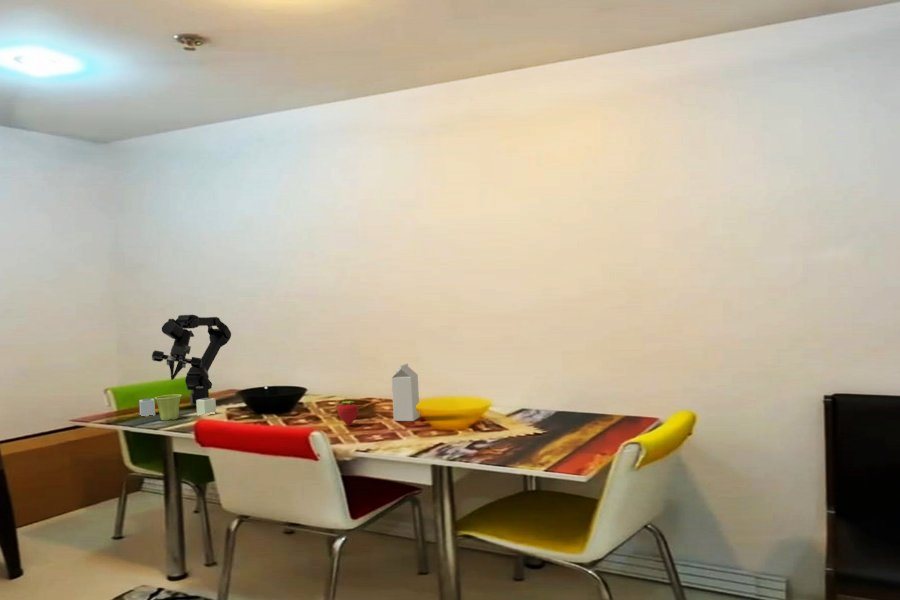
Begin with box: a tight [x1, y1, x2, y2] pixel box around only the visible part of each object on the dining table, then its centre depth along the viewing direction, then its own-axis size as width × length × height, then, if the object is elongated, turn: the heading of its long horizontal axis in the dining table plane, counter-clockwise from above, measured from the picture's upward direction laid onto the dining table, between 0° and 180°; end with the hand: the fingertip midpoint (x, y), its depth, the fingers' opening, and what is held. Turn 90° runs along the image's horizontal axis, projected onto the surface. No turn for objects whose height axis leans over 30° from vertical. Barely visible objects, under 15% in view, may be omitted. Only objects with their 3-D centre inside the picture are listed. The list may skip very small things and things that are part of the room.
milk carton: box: [391, 363, 421, 422], centre depth 234 cm, size 7×7×19 cm
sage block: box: [195, 397, 217, 417], centre depth 262 cm, size 5×5×6 cm
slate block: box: [138, 398, 156, 417], centre depth 267 cm, size 5×5×6 cm
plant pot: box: [154, 393, 182, 421], centre depth 256 cm, size 9×9×9 cm
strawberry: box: [337, 396, 359, 427], centre depth 228 cm, size 6×8×10 cm
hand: (172, 379), depth 272 cm, fingers closed
